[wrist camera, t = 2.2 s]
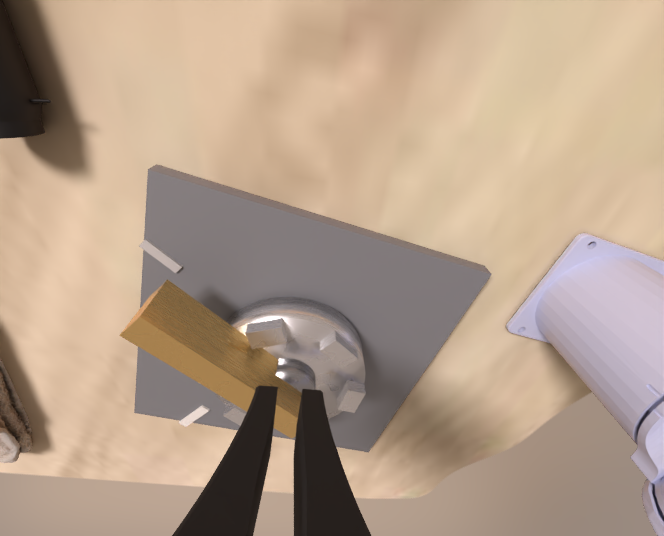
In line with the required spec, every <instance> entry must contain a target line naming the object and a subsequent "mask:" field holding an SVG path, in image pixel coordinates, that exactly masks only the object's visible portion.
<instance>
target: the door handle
mask: <svg viewBox="0 0 664 536" xmlns="http://www.w3.org/2000/svg"><path fill="white" fill-rule="evenodd" d="M41 102H44V103H51V100H47V99H40V98H39V96H38V93H37V90H36V88H35V85H34V82H33V80H32V77H31V75H30V72H29V69H28V67H27V64H26V62H25V59H24V56H23V54H22V51H21V49H20V46H19V43H18V41H17V38H16V36H15V33H14V30H13V28H12V25H11V23H10V20H9V17H8V15H7V12H6V9H5V7H4V4H3V2H2V0H0V138H17V137H27V136H34V135H39V134H43V133H45V130H44V127H43V125H42V122H41V120H40V118H41V114H42V105H41V104H42V103H41Z"/></svg>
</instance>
